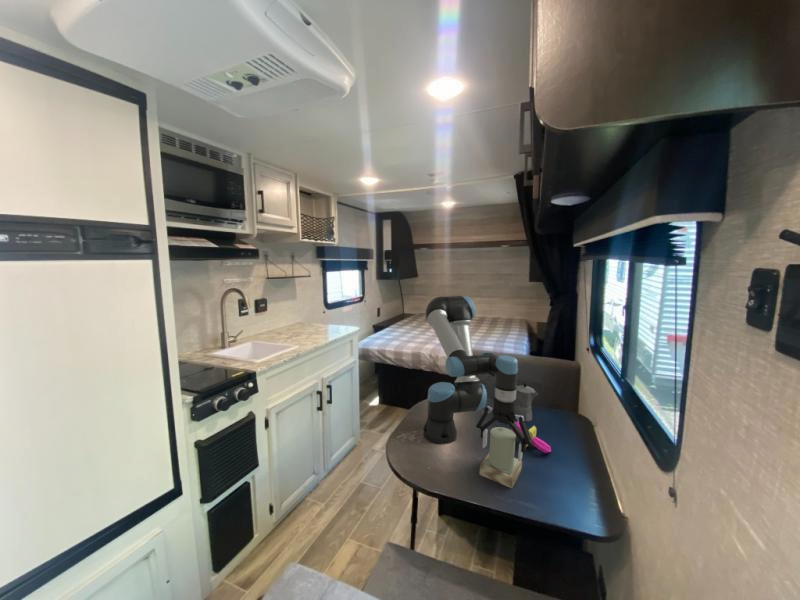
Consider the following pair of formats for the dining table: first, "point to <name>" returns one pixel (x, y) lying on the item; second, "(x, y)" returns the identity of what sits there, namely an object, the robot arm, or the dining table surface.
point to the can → (502, 448)
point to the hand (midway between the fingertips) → (501, 452)
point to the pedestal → (501, 472)
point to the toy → (536, 439)
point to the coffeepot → (524, 401)
